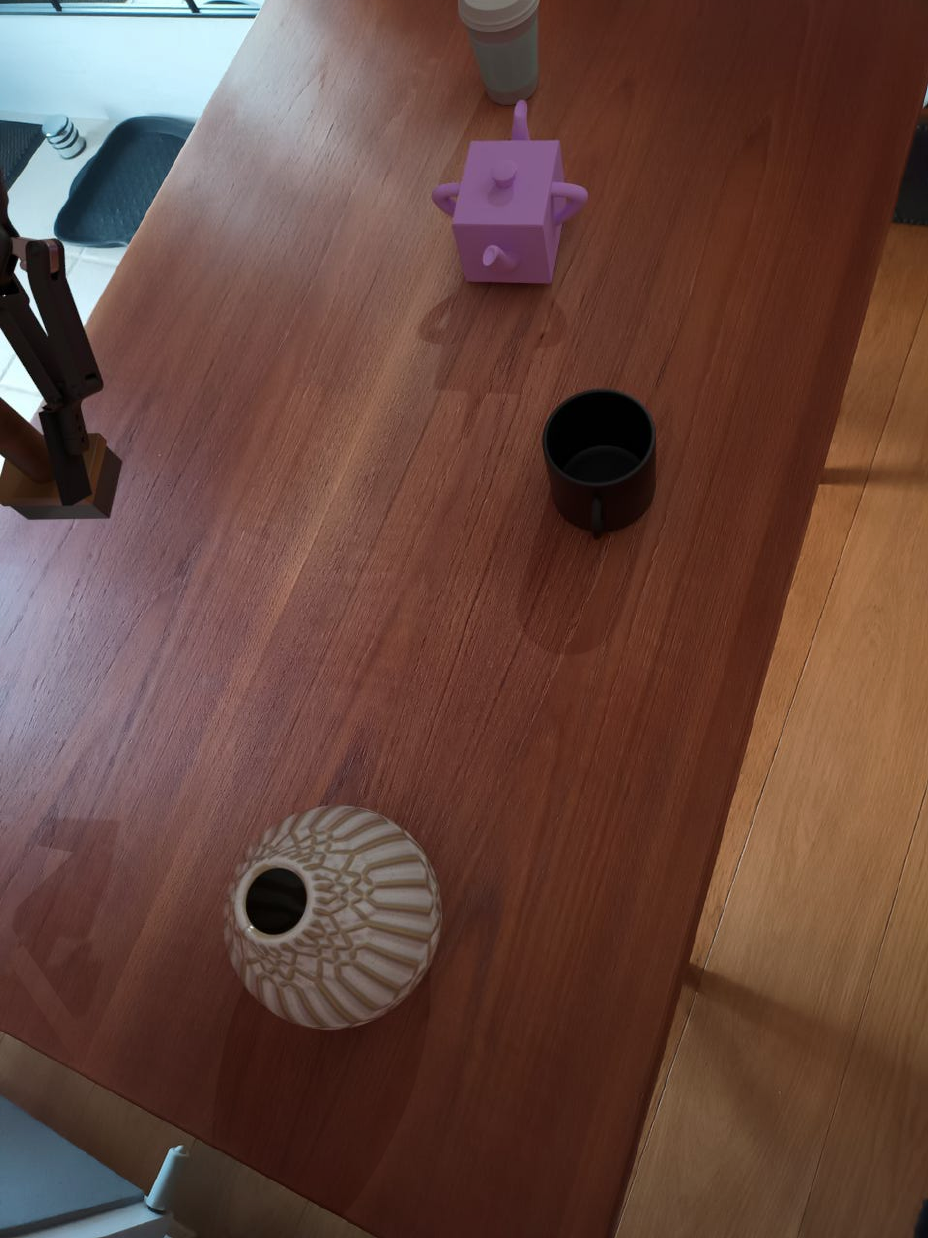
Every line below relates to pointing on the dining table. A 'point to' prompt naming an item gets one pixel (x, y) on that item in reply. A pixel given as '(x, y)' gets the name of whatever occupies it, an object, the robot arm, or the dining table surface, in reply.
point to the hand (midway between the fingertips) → (26, 500)
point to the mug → (601, 459)
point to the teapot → (510, 207)
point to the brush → (51, 473)
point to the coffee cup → (504, 45)
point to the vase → (332, 917)
